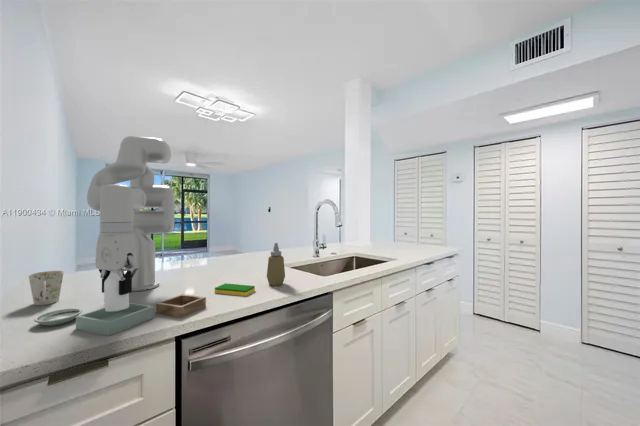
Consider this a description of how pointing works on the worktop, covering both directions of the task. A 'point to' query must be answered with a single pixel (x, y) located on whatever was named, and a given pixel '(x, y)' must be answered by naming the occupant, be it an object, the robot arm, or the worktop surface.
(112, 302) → the white tall block
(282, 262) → the squeeze bottle
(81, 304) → the worktop surface
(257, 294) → the worktop surface
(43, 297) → the mug
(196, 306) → the shallow wooden box
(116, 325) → the tray
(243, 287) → the dish sponge
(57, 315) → the saucer
